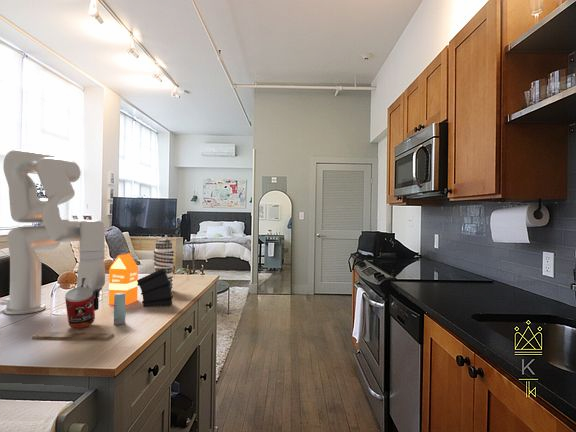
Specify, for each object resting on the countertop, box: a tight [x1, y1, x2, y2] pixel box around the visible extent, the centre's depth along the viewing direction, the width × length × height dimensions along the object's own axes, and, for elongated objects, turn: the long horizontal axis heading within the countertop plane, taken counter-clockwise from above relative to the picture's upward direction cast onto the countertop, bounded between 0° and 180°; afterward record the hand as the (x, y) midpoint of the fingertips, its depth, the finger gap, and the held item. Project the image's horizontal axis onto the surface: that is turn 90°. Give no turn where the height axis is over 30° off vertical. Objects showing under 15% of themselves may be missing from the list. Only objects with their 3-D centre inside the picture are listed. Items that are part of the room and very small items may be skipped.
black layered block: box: [137, 268, 174, 308], centre depth 145 cm, size 4×13×15 cm, turn 100°
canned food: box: [64, 286, 96, 330], centre depth 116 cm, size 8×8×11 cm
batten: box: [32, 331, 115, 341], centre depth 107 cm, size 22×4×1 cm, turn 90°
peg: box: [113, 293, 126, 326], centre depth 121 cm, size 4×4×10 cm
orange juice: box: [108, 253, 139, 306], centre depth 150 cm, size 8×9×20 cm
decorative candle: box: [153, 238, 175, 293], centre depth 172 cm, size 9×9×25 cm
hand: (92, 309), depth 122 cm, fingers closed
